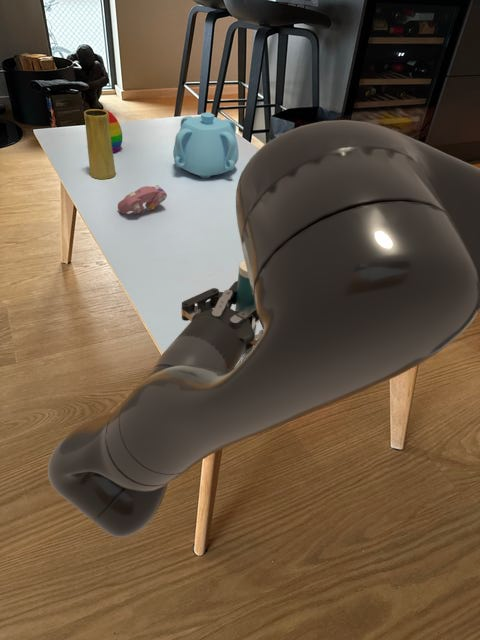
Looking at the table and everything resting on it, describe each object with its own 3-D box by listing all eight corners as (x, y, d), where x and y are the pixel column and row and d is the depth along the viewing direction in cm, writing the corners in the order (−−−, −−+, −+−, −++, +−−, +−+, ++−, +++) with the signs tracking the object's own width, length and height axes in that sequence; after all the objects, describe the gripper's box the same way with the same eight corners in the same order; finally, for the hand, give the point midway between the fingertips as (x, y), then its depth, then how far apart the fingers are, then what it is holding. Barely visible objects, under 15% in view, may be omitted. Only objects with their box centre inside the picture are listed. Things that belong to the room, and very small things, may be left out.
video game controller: (125, 224, 98) (132, 203, 92) (114, 208, 99) (120, 185, 93) (164, 212, 103) (172, 191, 98) (153, 197, 104) (161, 175, 98)
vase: (101, 181, 109) (94, 118, 100) (84, 173, 112) (75, 111, 103) (121, 174, 113) (115, 113, 104) (104, 167, 116) (97, 106, 107)
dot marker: (256, 335, 70) (266, 262, 61) (250, 349, 67) (260, 274, 59) (236, 330, 70) (243, 256, 62) (229, 343, 68) (236, 269, 60)
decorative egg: (101, 157, 121) (97, 117, 114) (86, 147, 125) (81, 108, 119) (129, 151, 125) (126, 112, 119) (113, 142, 130) (110, 104, 123)
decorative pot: (181, 154, 127) (181, 101, 118) (239, 161, 126) (243, 108, 118) (167, 177, 114) (166, 120, 106) (232, 185, 114) (236, 128, 105)
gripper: (256, 361, 49) (307, 281, 62) (143, 319, 53) (213, 251, 66) (249, 407, 54) (298, 324, 66) (147, 365, 58) (211, 294, 70)
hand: (255, 288), depth 66 cm, fingers closed on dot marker, 3 cm apart
